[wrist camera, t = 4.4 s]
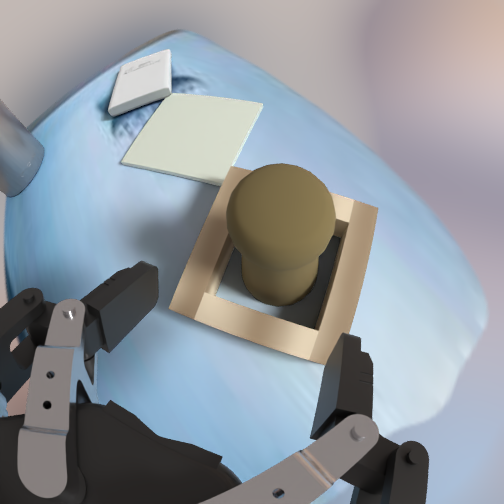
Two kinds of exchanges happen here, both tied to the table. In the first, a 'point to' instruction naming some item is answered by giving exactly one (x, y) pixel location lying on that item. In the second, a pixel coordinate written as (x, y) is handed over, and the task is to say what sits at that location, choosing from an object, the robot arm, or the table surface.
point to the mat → (194, 137)
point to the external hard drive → (142, 82)
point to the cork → (280, 231)
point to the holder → (262, 325)
